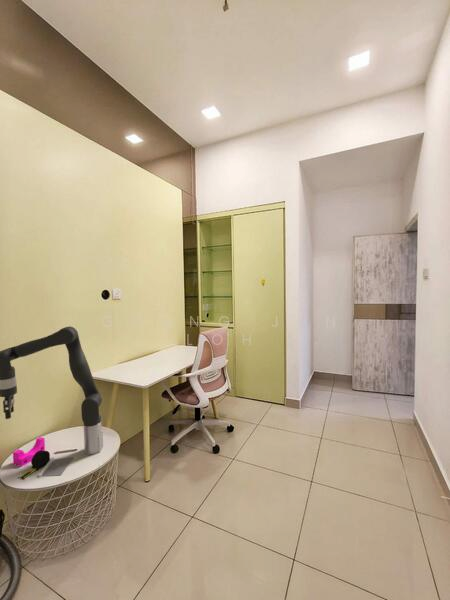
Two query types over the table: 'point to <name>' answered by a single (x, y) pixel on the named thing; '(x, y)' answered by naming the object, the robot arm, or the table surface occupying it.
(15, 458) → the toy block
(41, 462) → the tape measure
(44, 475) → the mat
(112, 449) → the table surface
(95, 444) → the robot arm
